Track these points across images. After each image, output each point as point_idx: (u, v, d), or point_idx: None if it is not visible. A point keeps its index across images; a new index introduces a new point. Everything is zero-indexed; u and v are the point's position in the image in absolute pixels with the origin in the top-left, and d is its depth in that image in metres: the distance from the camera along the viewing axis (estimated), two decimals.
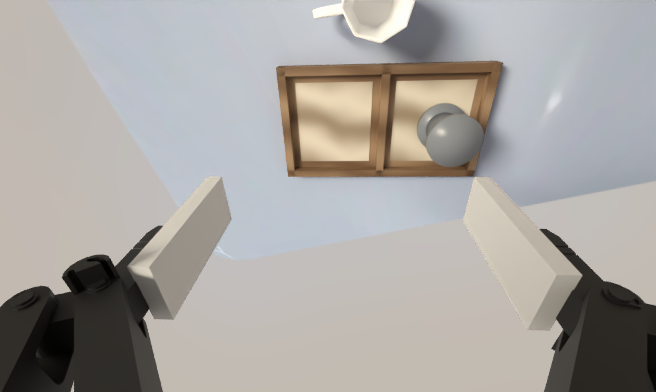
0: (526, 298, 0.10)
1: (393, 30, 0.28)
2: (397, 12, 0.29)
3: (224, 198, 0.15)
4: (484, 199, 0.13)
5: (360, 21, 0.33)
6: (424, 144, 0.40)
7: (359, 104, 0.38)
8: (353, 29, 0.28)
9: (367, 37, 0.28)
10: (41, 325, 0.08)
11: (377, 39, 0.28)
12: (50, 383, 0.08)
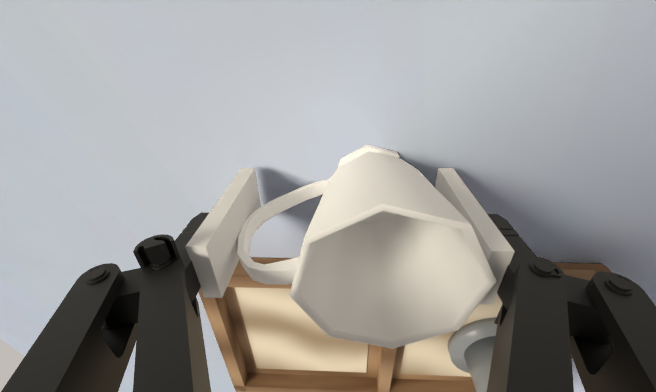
0: None
1: (423, 324, 0.11)
2: (429, 246, 0.13)
3: (256, 188, 0.16)
4: (445, 188, 0.14)
5: None
6: (460, 367, 0.23)
7: None
8: (325, 326, 0.11)
9: (359, 341, 0.11)
10: (109, 301, 0.09)
11: (384, 340, 0.12)
12: (111, 356, 0.09)
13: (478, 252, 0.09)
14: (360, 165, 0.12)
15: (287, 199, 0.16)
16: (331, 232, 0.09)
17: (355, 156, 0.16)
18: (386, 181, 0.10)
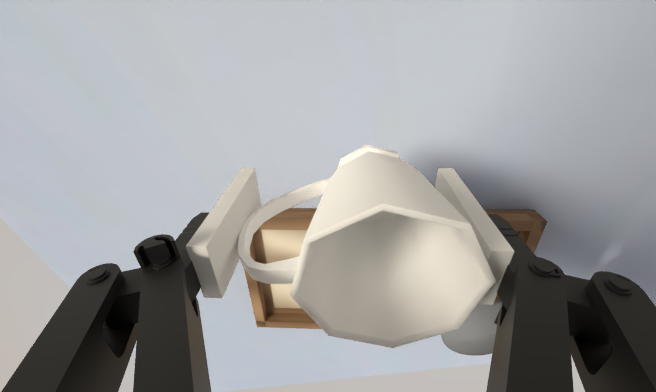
0: None
1: (423, 324, 0.11)
2: (429, 246, 0.13)
3: (256, 188, 0.16)
4: (445, 187, 0.14)
5: None
6: None
7: None
8: (325, 325, 0.11)
9: (359, 340, 0.11)
10: (109, 300, 0.09)
11: (384, 340, 0.12)
12: (112, 355, 0.09)
13: (477, 251, 0.09)
14: (360, 165, 0.13)
15: (287, 199, 0.16)
16: (331, 232, 0.09)
17: (355, 156, 0.16)
18: (386, 181, 0.10)
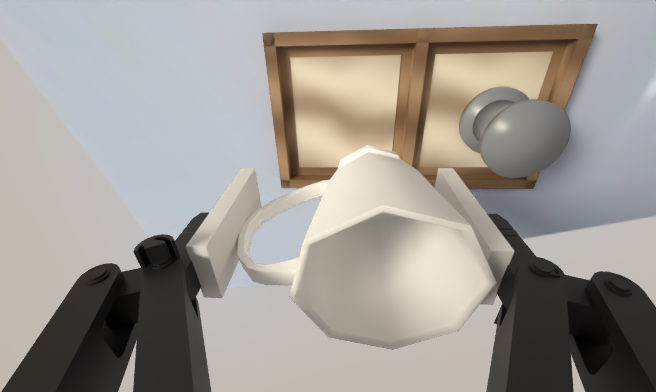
0: None
1: (423, 325, 0.11)
2: (430, 247, 0.13)
3: (256, 188, 0.16)
4: (445, 187, 0.14)
5: None
6: (469, 145, 0.29)
7: (380, 89, 0.27)
8: (325, 327, 0.11)
9: (359, 342, 0.11)
10: (109, 301, 0.09)
11: (384, 341, 0.12)
12: (112, 355, 0.09)
13: (478, 253, 0.09)
14: (360, 166, 0.12)
15: (287, 200, 0.16)
16: (331, 233, 0.09)
17: (355, 157, 0.16)
18: (386, 182, 0.10)
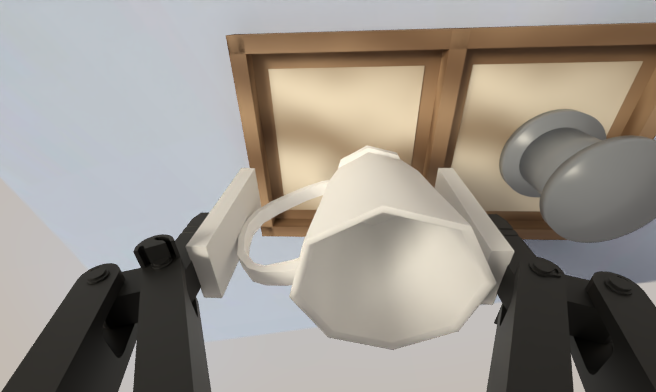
0: None
1: (423, 325, 0.11)
2: (429, 247, 0.13)
3: (256, 188, 0.16)
4: (445, 188, 0.14)
5: None
6: (513, 185, 0.21)
7: (394, 111, 0.20)
8: (325, 327, 0.11)
9: None
10: (109, 301, 0.09)
11: (384, 342, 0.12)
12: (111, 356, 0.09)
13: (478, 253, 0.09)
14: (360, 166, 0.12)
15: (287, 200, 0.16)
16: (331, 233, 0.09)
17: (355, 157, 0.16)
18: (386, 182, 0.10)
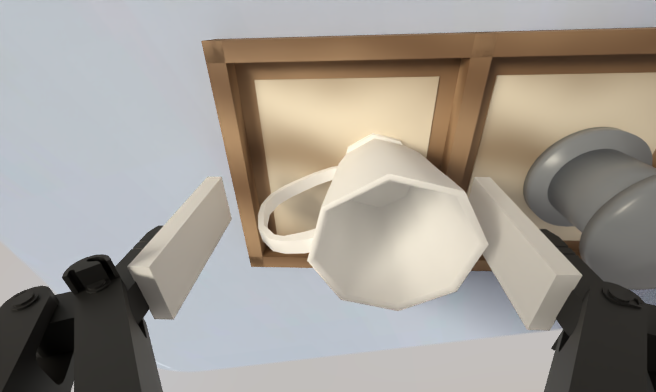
0: (526, 298, 0.10)
1: (425, 288, 0.13)
2: (430, 222, 0.14)
3: (224, 198, 0.15)
4: (485, 199, 0.13)
5: (355, 199, 0.18)
6: (539, 213, 0.18)
7: (403, 129, 0.17)
8: (338, 290, 0.13)
9: (368, 304, 0.13)
10: (41, 325, 0.08)
11: (390, 303, 0.13)
12: (50, 383, 0.08)
13: (471, 216, 0.10)
14: (367, 149, 0.14)
15: (299, 184, 0.17)
16: (345, 200, 0.10)
17: (361, 144, 0.17)
18: (391, 159, 0.12)
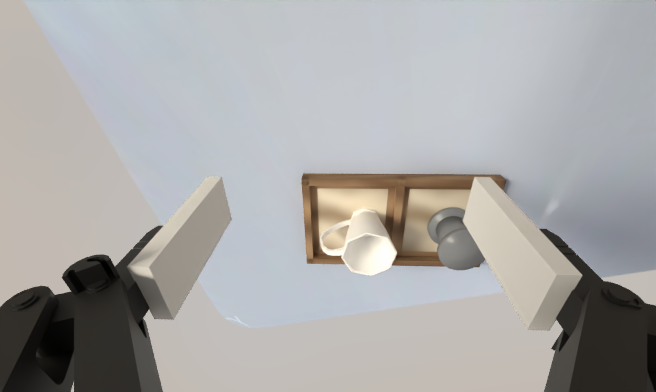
0: (526, 298, 0.10)
1: (380, 268, 0.38)
2: (384, 244, 0.39)
3: (224, 198, 0.15)
4: (484, 199, 0.13)
5: None
6: (434, 240, 0.43)
7: (375, 206, 0.42)
8: (350, 268, 0.37)
9: (360, 273, 0.38)
10: (41, 325, 0.08)
11: (368, 273, 0.38)
12: (50, 383, 0.08)
13: (390, 244, 0.35)
14: (360, 218, 0.39)
15: (333, 228, 0.42)
16: (353, 239, 0.35)
17: (359, 212, 0.42)
18: (368, 225, 0.36)
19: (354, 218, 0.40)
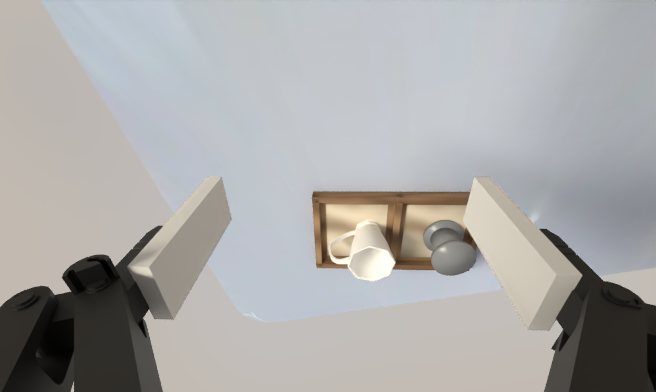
0: (526, 298, 0.10)
1: (381, 274, 0.43)
2: (384, 253, 0.45)
3: (224, 198, 0.15)
4: (485, 199, 0.13)
5: None
6: (429, 248, 0.49)
7: (377, 219, 0.48)
8: (355, 275, 0.43)
9: (364, 279, 0.44)
10: (41, 325, 0.08)
11: (371, 279, 0.44)
12: (50, 383, 0.08)
13: (390, 255, 0.41)
14: (364, 231, 0.45)
15: (340, 238, 0.48)
16: (358, 251, 0.41)
17: (362, 224, 0.48)
18: (370, 238, 0.42)
19: (358, 230, 0.46)
